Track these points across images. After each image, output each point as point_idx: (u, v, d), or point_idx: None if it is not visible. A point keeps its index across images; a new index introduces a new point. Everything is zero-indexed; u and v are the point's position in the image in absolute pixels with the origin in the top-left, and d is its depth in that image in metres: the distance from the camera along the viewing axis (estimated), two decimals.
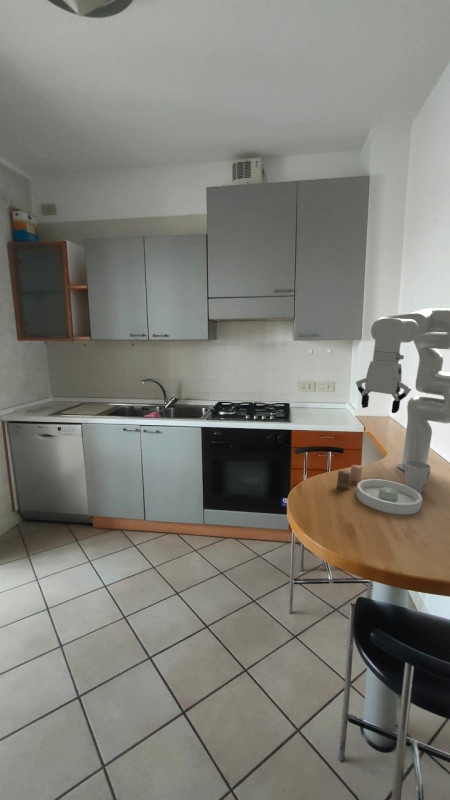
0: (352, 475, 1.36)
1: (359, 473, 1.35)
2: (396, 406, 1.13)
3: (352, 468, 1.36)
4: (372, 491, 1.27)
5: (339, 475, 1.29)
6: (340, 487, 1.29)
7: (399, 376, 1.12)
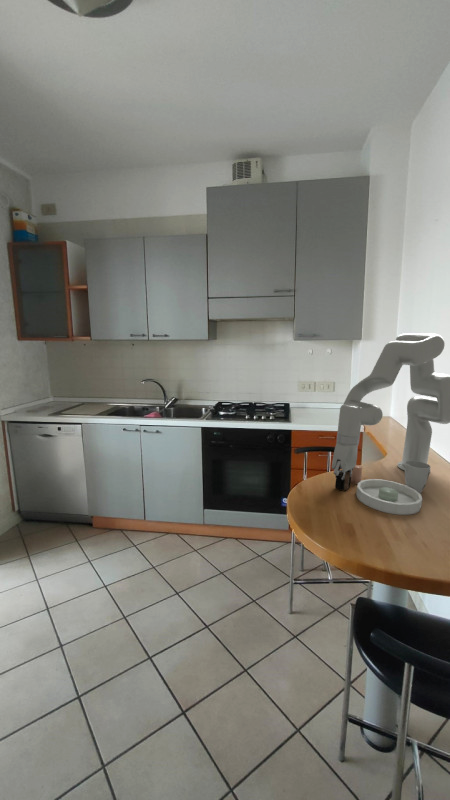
0: (352, 475, 1.36)
1: (359, 473, 1.35)
2: (349, 480, 1.32)
3: None
4: (372, 491, 1.27)
5: None
6: None
7: None
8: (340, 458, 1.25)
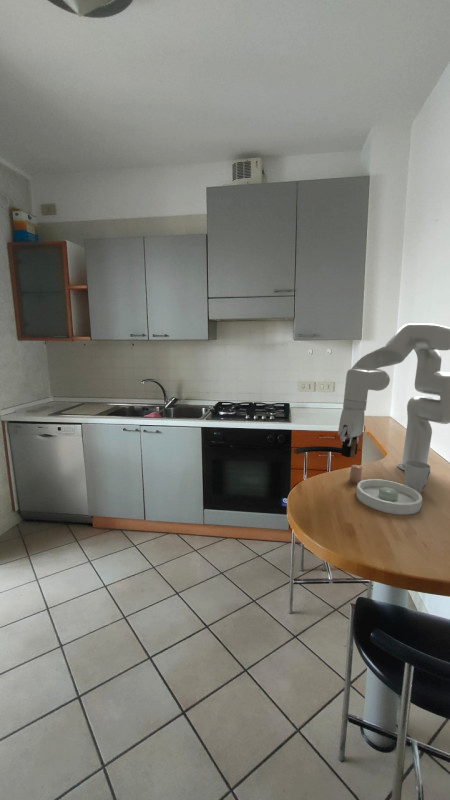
0: (352, 475, 1.36)
1: (359, 473, 1.35)
2: None
3: (352, 468, 1.36)
4: (372, 491, 1.27)
5: None
6: None
7: None
8: (347, 423, 1.22)
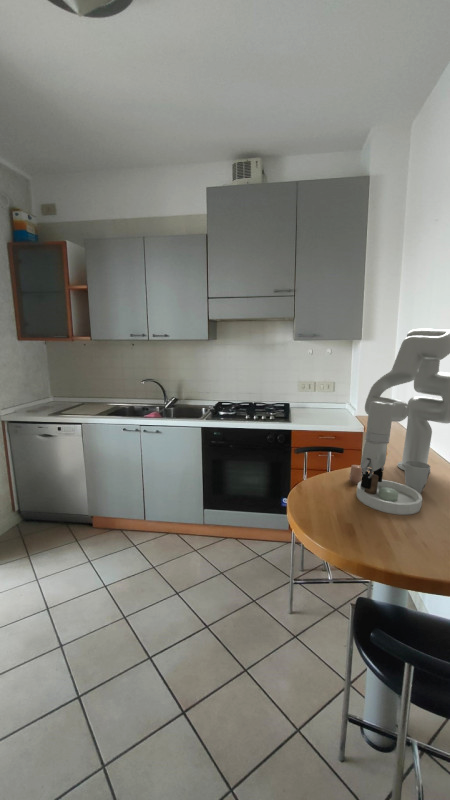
0: (352, 475, 1.36)
1: (359, 473, 1.35)
2: None
3: (352, 468, 1.36)
4: None
5: None
6: (368, 491, 1.25)
7: None
8: (370, 457, 1.20)
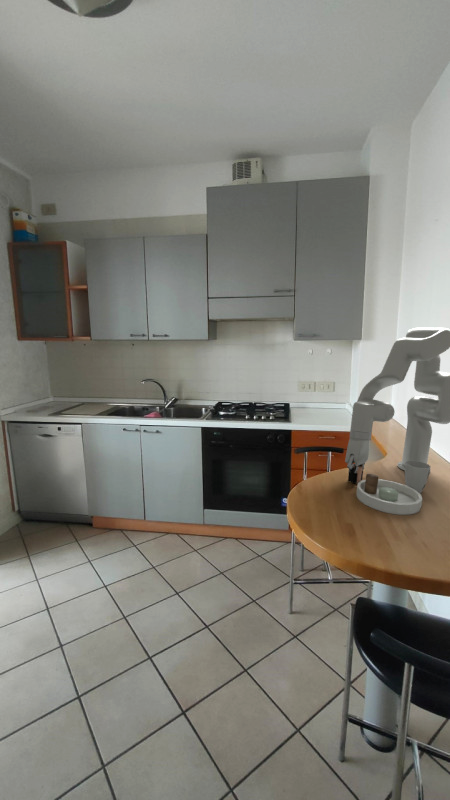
0: None
1: (359, 473, 1.35)
2: None
3: None
4: None
5: (367, 478, 1.25)
6: (368, 491, 1.25)
7: None
8: (353, 452, 1.32)
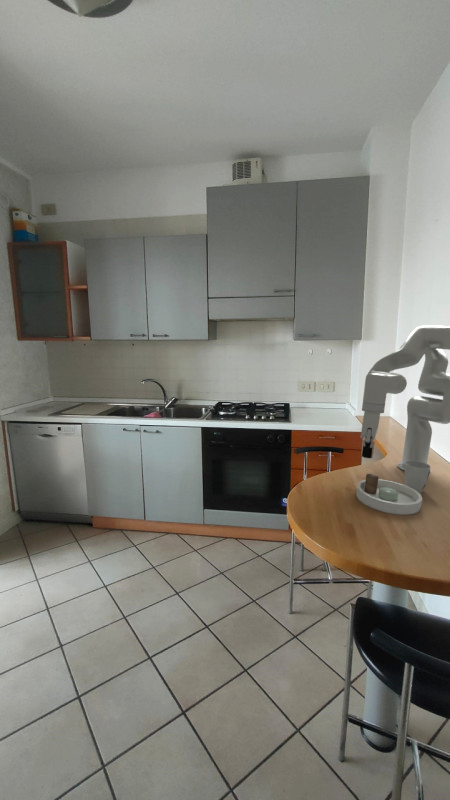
0: None
1: (373, 447, 1.31)
2: None
3: None
4: None
5: (367, 478, 1.25)
6: (368, 491, 1.25)
7: None
8: (371, 426, 1.26)
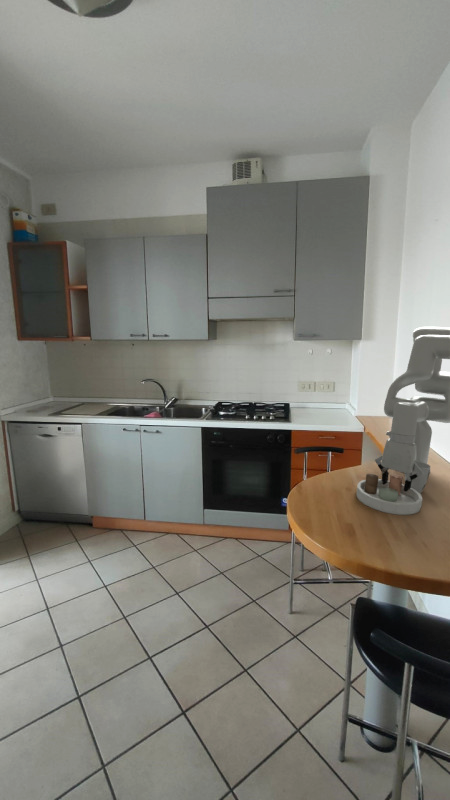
0: (400, 487, 1.24)
1: None
2: None
3: (400, 480, 1.24)
4: None
5: (367, 478, 1.25)
6: (368, 491, 1.25)
7: None
8: (415, 458, 1.21)
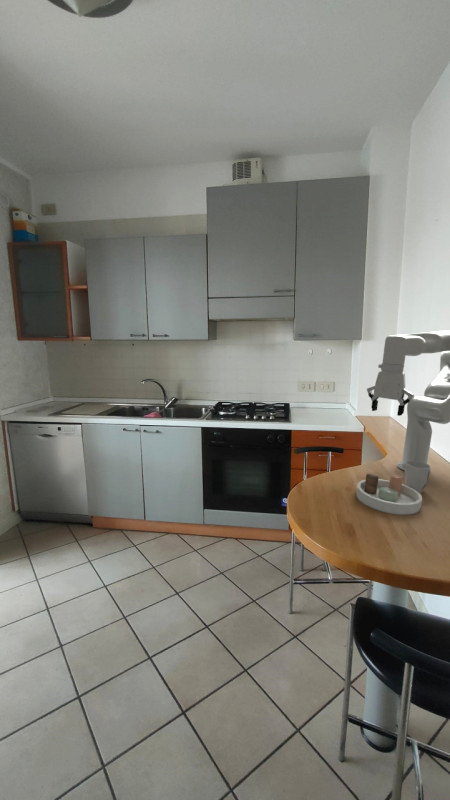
0: (400, 487, 1.24)
1: None
2: None
3: (400, 480, 1.24)
4: None
5: (367, 478, 1.25)
6: (368, 491, 1.25)
7: None
8: (404, 386, 1.33)
